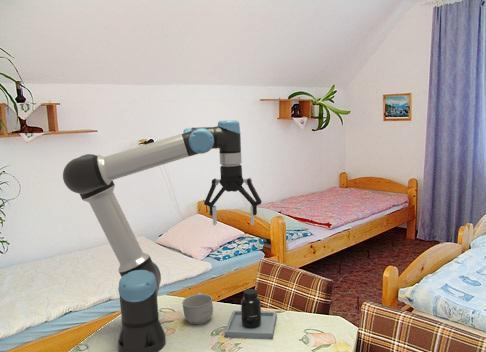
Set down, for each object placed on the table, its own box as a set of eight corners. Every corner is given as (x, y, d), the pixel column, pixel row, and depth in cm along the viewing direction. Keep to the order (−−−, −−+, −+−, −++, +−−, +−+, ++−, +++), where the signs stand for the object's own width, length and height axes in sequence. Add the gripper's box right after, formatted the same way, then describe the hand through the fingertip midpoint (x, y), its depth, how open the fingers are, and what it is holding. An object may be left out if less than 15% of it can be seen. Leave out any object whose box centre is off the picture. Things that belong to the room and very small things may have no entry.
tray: (224, 337, 146) (224, 331, 146) (233, 315, 161) (233, 310, 161) (272, 339, 143) (272, 333, 143) (276, 316, 159) (276, 311, 158)
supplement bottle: (252, 331, 148) (250, 297, 146) (237, 325, 152) (236, 292, 151) (265, 323, 152) (264, 290, 151) (251, 317, 157) (249, 286, 155)
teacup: (208, 328, 153) (207, 306, 152) (179, 326, 155) (177, 305, 154) (218, 310, 166) (217, 290, 165) (191, 309, 168) (190, 289, 167)
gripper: (267, 162, 154) (269, 221, 157) (198, 164, 158) (202, 221, 161) (265, 165, 147) (267, 227, 150) (193, 167, 151) (196, 227, 154)
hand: (233, 224), depth 155 cm, fingers open, 13 cm apart
